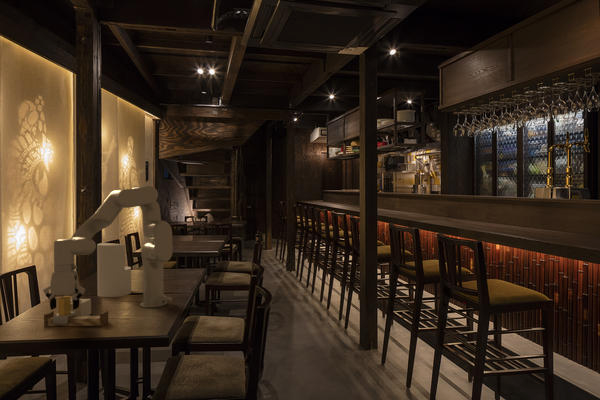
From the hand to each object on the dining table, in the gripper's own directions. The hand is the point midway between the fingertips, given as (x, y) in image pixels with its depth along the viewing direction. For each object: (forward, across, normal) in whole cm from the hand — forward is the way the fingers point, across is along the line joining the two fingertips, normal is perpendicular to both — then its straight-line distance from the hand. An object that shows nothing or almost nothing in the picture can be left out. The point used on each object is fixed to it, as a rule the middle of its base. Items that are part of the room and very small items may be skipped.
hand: (64, 308), depth 174 cm
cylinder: (+7, +3, -56) cm, 57 cm away
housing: (+7, +1, -11) cm, 13 cm away
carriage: (+7, 0, 0) cm, 7 cm away
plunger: (+3, +1, -11) cm, 11 cm away
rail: (+7, -5, 0) cm, 8 cm away
